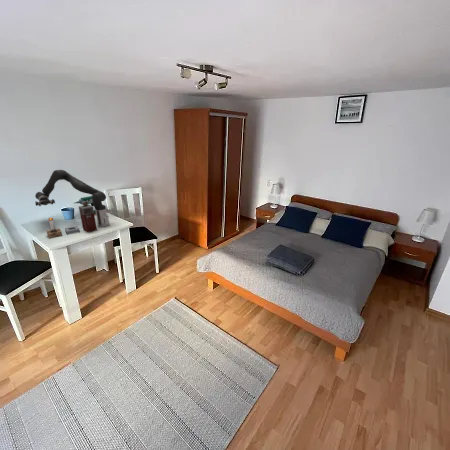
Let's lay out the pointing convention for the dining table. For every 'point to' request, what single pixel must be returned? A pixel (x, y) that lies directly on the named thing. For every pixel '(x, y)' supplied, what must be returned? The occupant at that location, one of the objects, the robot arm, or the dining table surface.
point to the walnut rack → (54, 233)
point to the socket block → (72, 230)
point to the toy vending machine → (87, 217)
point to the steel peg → (52, 224)
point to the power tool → (87, 199)
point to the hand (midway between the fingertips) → (46, 204)
